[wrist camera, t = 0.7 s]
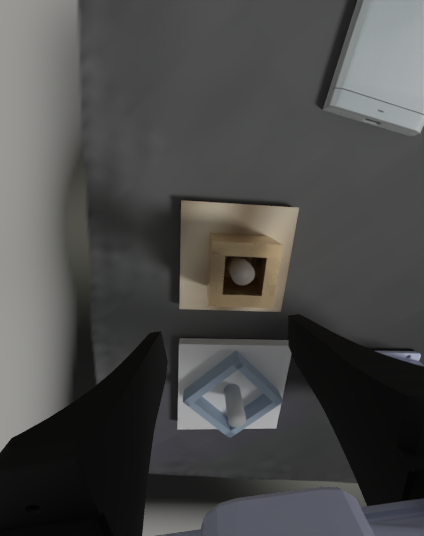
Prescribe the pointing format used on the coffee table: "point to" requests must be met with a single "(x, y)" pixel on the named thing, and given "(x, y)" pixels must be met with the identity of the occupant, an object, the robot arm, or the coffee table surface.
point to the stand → (238, 268)
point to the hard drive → (382, 67)
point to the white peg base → (231, 383)
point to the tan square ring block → (263, 262)
